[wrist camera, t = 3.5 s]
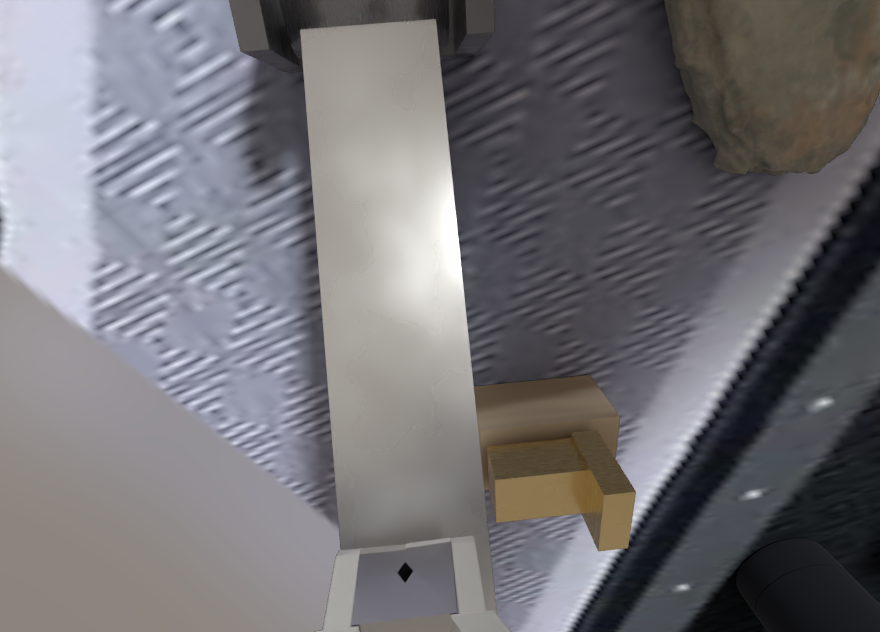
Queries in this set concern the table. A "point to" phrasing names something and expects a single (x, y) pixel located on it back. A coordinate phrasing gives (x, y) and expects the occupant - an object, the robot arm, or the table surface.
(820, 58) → the elongated rock
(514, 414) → the tan wooden block
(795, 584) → the wine bottle
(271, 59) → the base
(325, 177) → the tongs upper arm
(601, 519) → the tan l-shaped block
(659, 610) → the table surface
